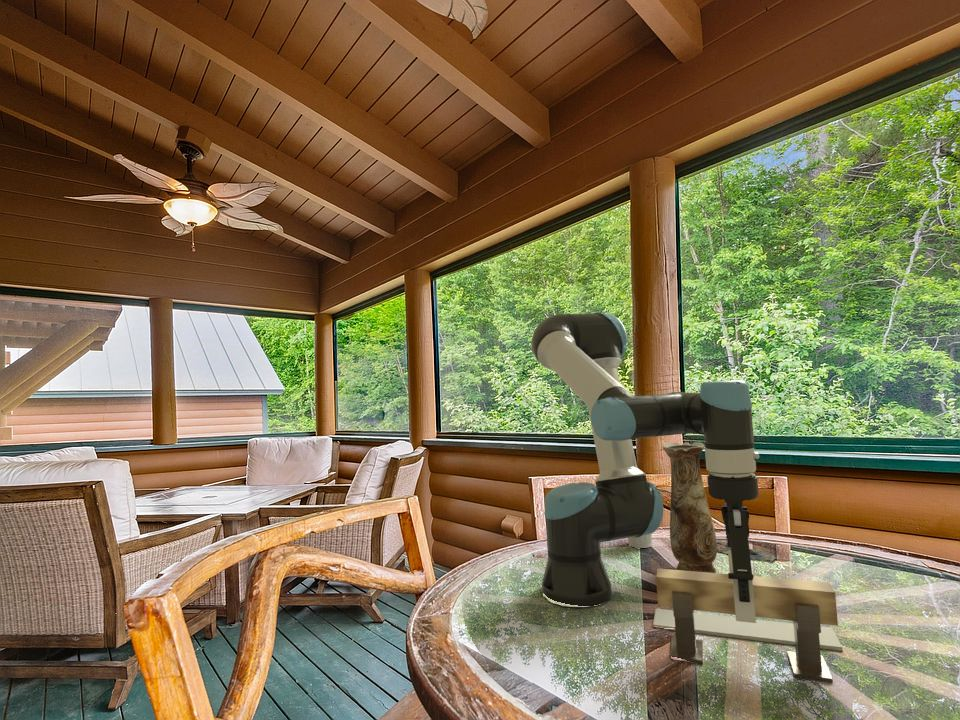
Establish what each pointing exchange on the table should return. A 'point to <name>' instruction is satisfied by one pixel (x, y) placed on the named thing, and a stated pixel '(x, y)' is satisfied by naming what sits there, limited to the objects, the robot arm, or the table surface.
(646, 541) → the cup
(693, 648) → the standard left
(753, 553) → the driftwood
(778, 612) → the rail
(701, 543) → the vase
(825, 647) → the cream flat board
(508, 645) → the table surface
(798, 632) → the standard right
